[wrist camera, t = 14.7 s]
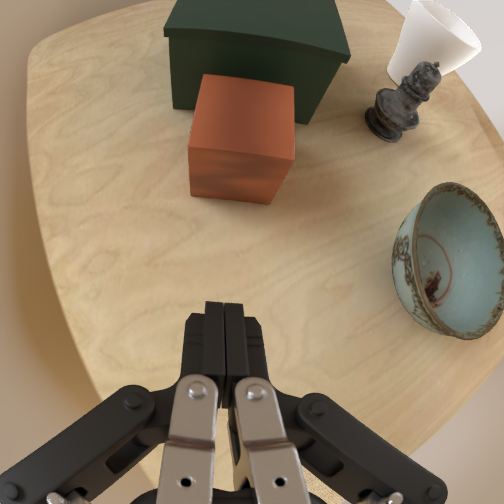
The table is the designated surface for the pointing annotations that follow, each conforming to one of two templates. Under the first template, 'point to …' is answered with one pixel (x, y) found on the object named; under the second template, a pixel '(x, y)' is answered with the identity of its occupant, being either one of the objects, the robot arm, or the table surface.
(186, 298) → the table surface
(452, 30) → the cup
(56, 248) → the table surface
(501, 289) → the bowl
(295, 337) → the table surface
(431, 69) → the dark grey chess piece
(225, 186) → the block
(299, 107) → the box
